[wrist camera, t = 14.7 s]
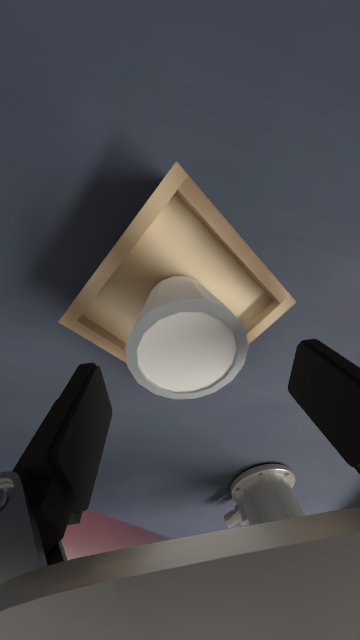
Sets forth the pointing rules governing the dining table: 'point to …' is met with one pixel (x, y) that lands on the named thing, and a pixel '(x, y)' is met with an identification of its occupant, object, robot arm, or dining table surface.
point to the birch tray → (175, 268)
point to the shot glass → (185, 341)
